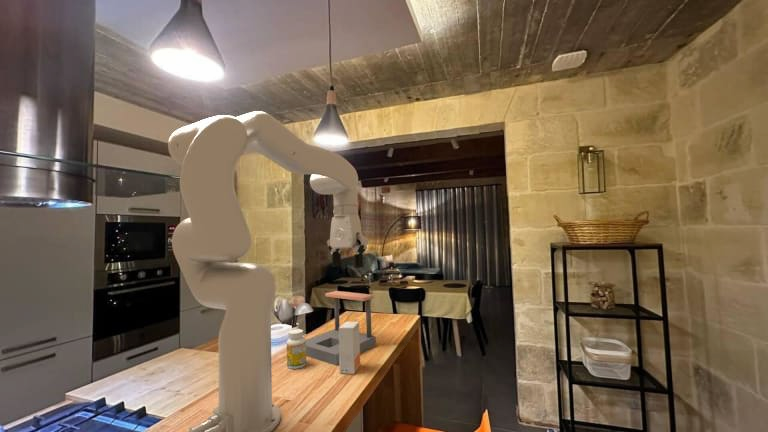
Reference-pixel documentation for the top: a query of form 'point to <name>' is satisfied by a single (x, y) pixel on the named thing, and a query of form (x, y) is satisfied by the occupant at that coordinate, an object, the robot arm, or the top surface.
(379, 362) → the top surface
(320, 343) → the socket block
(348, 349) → the skincare box
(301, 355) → the supplement bottle
